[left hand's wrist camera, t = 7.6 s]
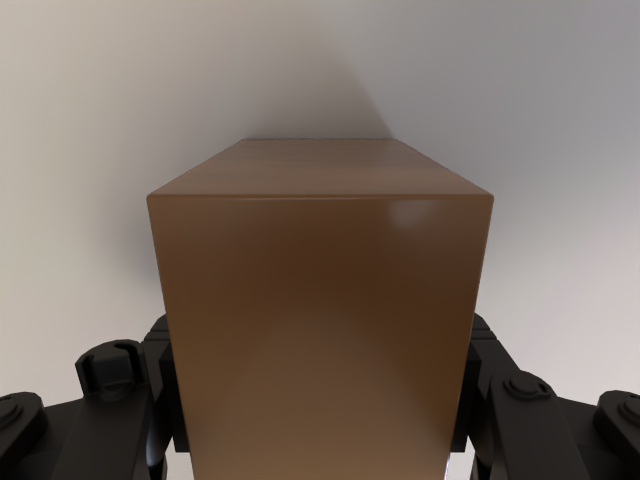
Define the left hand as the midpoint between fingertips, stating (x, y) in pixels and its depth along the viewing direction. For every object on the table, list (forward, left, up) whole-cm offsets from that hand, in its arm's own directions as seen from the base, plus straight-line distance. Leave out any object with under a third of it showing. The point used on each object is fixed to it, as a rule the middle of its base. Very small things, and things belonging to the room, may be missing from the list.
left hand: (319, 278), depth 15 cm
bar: (+19, +14, -1) cm, 23 cm away
